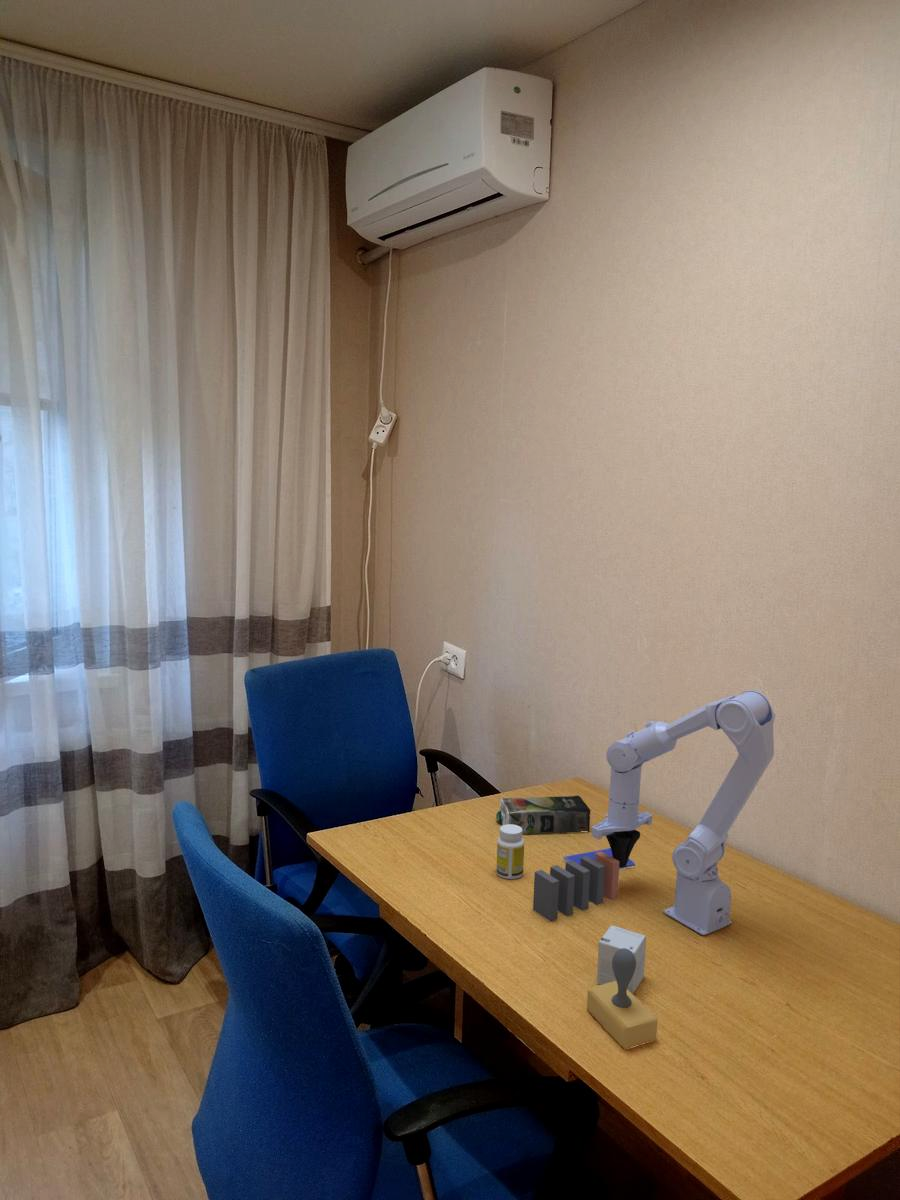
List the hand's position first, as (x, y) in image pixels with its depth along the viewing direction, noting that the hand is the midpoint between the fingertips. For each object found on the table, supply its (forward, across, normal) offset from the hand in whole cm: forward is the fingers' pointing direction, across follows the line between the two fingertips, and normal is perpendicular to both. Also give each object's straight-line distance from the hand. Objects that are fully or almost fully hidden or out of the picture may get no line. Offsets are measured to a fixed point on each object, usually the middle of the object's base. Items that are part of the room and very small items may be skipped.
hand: (619, 865), depth 165 cm
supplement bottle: (+5, +15, -16) cm, 22 cm away
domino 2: (+5, +15, 0) cm, 16 cm away
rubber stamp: (+5, +30, +30) cm, 43 cm away
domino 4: (+5, +8, 0) cm, 9 cm away
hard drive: (+6, -4, -10) cm, 12 cm away
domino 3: (+5, +11, 0) cm, 12 cm away
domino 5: (+5, +4, 0) cm, 6 cm away
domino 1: (+5, +19, 0) cm, 20 cm away
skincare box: (+5, +22, +22) cm, 31 cm away
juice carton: (+6, -6, -31) cm, 32 cm away
